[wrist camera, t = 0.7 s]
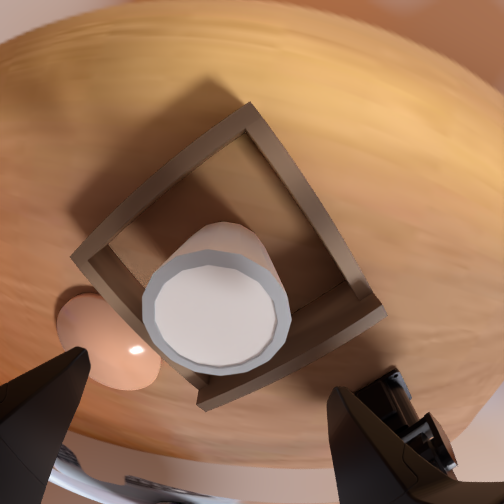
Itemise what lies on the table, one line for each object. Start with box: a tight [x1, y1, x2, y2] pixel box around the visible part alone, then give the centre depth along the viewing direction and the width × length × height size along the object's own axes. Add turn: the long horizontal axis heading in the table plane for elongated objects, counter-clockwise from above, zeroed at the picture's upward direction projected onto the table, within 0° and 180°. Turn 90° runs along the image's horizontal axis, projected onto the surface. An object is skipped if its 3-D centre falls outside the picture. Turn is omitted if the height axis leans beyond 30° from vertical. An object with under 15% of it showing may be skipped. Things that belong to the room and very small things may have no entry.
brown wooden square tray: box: [70, 102, 388, 412], centre depth 17 cm, size 14×14×4 cm
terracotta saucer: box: [57, 293, 162, 390], centre depth 21 cm, size 10×10×1 cm
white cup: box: [142, 221, 292, 376], centre depth 16 cm, size 7×7×7 cm
